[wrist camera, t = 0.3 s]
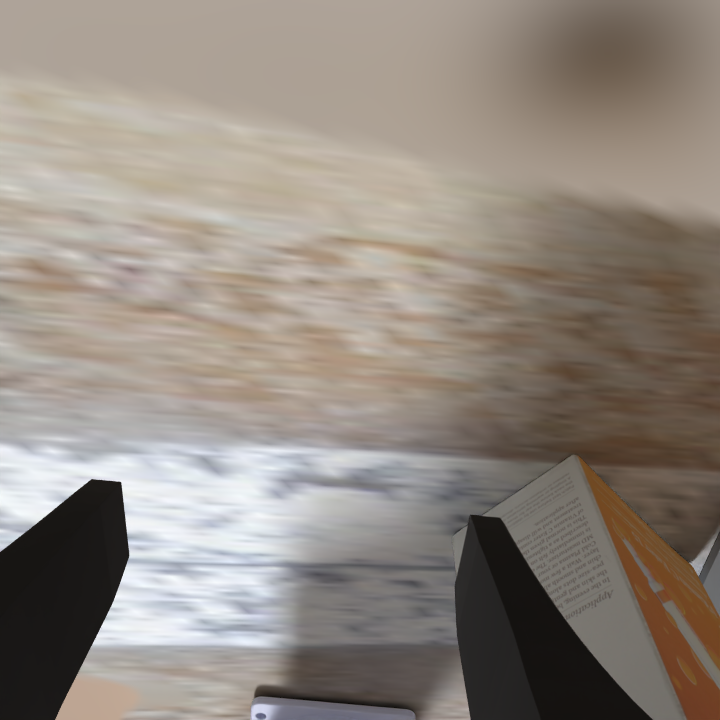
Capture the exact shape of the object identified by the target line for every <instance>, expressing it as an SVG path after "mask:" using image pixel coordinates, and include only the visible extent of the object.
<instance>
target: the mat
mask: <svg viewBox="0 0 720 720" xmlns="http://www.w3.org/2000/svg"><path fill="white" fill-rule="evenodd" d="M699 579H700V581H701V583H702V584H703V586H704V588H705V590H706V592H707V594H708V596H709V598H710V599H711V601H712V603H713V605H714V607H715V609H716V611H717V613H718V614H719V616H720V533H719V535H718V537H717V540H716V542H715V544H714V546H713V548H712V550H711V552H710V555H709V557H708V559H707V561H706V563H705V565H704V568H703V570H702V572H701V574H700V576H699Z"/></svg>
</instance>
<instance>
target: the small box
mask: <svg viewBox="0 0 720 720" xmlns="http://www.w3.org/2000/svg"><path fill="white" fill-rule="evenodd" d="M482 516H489V517H500V518H501V520H502V521H503V522H504V524H505V525H506V527H507V529H508V531H509V533H510V534H511V536H512V538H513V540H514V541H515V543H516V545H517V546H518V548H519V550H520V551H521V553H522V555H523V556H524V558H525V560H526V561H527V563H528V565H529V566H530V568H531V569H532V571H533V573H534V574H535V576H536V577H537V579H538V580H539V582H540V583H541V585H542V586H543V588H544V589H545V591H546V592H547V594H548V595H549V597H550V598H551V600H552V601H553V603H554V604H555V605H556V607H557V608H558V610H559V611H560V612H561V614H562V615H563V617H564V618H565V619H566V621H567V622H568V623H569V625H570V626H571V627H572V629H573V630H574V631H575V633H576V634H577V635H578V637H579V638H580V639H581V641H582V642H583V643H584V644H585V646H586V647H587V648H588V649H589V651H590V652H591V653H592V654H593V656H594V657H595V658H596V659H597V660H598V662H599V663H600V664H601V665H602V666H603V667H604V669H605V670H606V671H607V672H608V673H609V674H610V675H611V677H612V678H613V679H614V680H615V681H616V682H617V683H618V684H619V686H620V687H621V688H622V689H623V690H624V691H625V692H626V693H627V694H628V695H629V696H630V697H631V698H632V700H633V701H634V702H635V703H636V704H637V705H638V706H639V707H641V708H642V709H643V710H644V711H645V712H646V713H647V714H648V715H649V716H650V717H651V718H652V719H653V720H720V616H719V614H718V613H717V611H716V609H715V607H714V605H713V603H712V601H711V599H710V598H709V596H708V594H707V592H706V590H705V588H704V586H703V584H702V583H701V581H700V579H699V577H698V575H697V574H696V572H695V570H694V568H693V567H692V566H691V564H689V563H688V562H687V561H686V560H685V559H683V558H682V557H681V556H680V555H679V554H678V553H677V552H675V551H674V550H673V549H672V548H671V547H670V546H669V545H668V544H667V543H666V542H665V541H664V540H663V539H662V538H660V537H659V536H658V535H657V534H656V533H655V532H654V531H653V530H652V529H651V528H650V527H649V526H648V525H647V524H646V523H645V522H644V521H643V520H642V519H641V518H640V517H639V516H638V515H637V514H636V513H635V512H634V511H633V510H632V509H631V508H630V507H629V506H628V505H627V504H626V503H625V502H624V501H623V500H622V499H621V498H620V497H619V496H618V495H617V494H616V493H615V492H614V491H613V490H612V489H611V488H610V487H609V486H608V485H607V484H606V483H605V482H604V481H603V480H602V479H601V478H600V477H599V476H598V475H597V474H596V473H595V472H594V471H593V470H592V469H591V468H590V467H589V466H588V465H587V464H586V463H585V462H584V461H583V460H582V459H581V458H580V457H579V456H578V455H571V456H569V457H568V458H567V459H565V460H564V461H562V462H561V463H559V464H558V465H556V466H555V467H553V468H552V469H551V470H549V471H548V472H546V473H545V474H543V475H542V476H540V477H539V478H537V479H536V480H534V481H533V482H531V483H530V484H528V485H527V486H525V487H524V488H522V489H521V490H519V491H518V492H516V493H515V494H513V495H512V496H510V497H509V498H507V499H506V500H504V501H503V502H501V503H500V504H498V505H497V506H495V507H493V508H492V509H491V510H489V511H488V512H486V513H485V514H483V515H482ZM467 527H468V525H467V526H466V527H464V528H463V529H461V530H460V531H459V532H457V533H456V534H455V535H454V536H453V537H452V545H453V553H454V560H455V569H456V577H457V573H458V569H459V564H460V559H461V555H462V550H463V545H464V541H465V536H466V532H467Z"/></svg>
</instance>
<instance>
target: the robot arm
mask: <svg viewBox="0 0 720 720" xmlns="http://www.w3.org/2000/svg"><path fill="white" fill-rule="evenodd" d="M128 558H129V548H128V539H127V530H126V521H125V512H124V503H123V494H122V485H121V482H116V481H105V480H94V479H91V480H90V481H89V482H88V483H86V484H85V485H84V486H83V487H81V488H80V489H79V490H77V491H76V492H75V493H74V494H72V495H71V496H70V497H69V498H68V499H66V500H65V501H64V502H63V503H61V504H60V505H59V506H58V507H57V508H55V509H54V510H53V511H52V512H50V513H49V514H48V515H47V516H46V517H44V518H43V519H42V520H41V521H39V522H38V523H37V524H36V525H34V526H33V527H32V528H31V529H29V530H28V531H27V532H25V533H24V534H23V535H22V536H20V537H19V538H18V539H16V540H15V541H14V542H13V543H11V544H10V545H9V546H8V547H6V548H5V549H4V550H2V551H1V552H0V720H55V719H56V716H57V714H58V712H59V710H60V708H61V705H62V703H63V701H64V699H65V697H66V695H67V693H68V691H69V689H70V687H71V685H72V683H73V682H74V680H75V678H76V676H77V674H78V672H79V670H80V668H81V666H82V664H83V662H84V660H85V658H86V656H87V654H88V652H89V650H90V648H91V646H92V644H93V642H94V640H95V638H96V636H97V634H98V632H99V630H100V628H101V626H102V624H103V622H104V620H105V618H106V616H107V614H108V611H109V609H110V607H111V605H112V603H113V601H114V598H115V595H116V593H117V590H118V587H119V584H120V582H121V579H122V576H123V573H124V570H125V567H126V564H127V561H128ZM455 605H456V625H457V637H458V644H459V650H460V656H461V663H462V669H463V675H464V681H465V687H466V693H467V699H468V705H469V711H470V718H471V720H653V719H652V718H651V717H650V716H649V715H648V714H647V713H646V712H645V711H644V710H643V709H642V708H641V707H639V706H638V705H637V704H636V703H635V702H634V701H633V700H632V698H631V697H630V696H629V695H628V694H627V693H626V692H625V691H624V690H623V689H622V688H621V687H620V686H619V684H618V683H617V682H616V681H615V680H614V679H613V678H612V677H611V675H610V674H609V673H608V672H607V671H606V670H605V669H604V667H603V666H602V665H601V664H600V663H599V662H598V660H597V659H596V658H595V657H594V656H593V654H592V653H591V652H590V651H589V649H588V648H587V647H586V646H585V644H584V643H583V642H582V641H581V639H580V638H579V637H578V635H577V634H576V633H575V631H574V630H573V629H572V627H571V626H570V625H569V623H568V622H567V621H566V619H565V618H564V617H563V615H562V614H561V612H560V611H559V610H558V608H557V607H556V605H555V604H554V603H553V601H552V600H551V598H550V597H549V595H548V594H547V592H546V591H545V589H544V588H543V586H542V585H541V583H540V582H539V580H538V579H537V577H536V576H535V574H534V573H533V571H532V569H531V568H530V566H529V565H528V563H527V561H526V560H525V558H524V556H523V555H522V553H521V551H520V550H519V548H518V546H517V545H516V543H515V541H514V540H513V538H512V536H511V534H510V533H509V531H508V529H507V527H506V525H505V524H504V522H503V521H502V520H501V518H500V517H489V516H478V515H470V518H469V522H468V527H467V532H466V536H465V541H464V545H463V550H462V555H461V559H460V564H459V569H458V573H457V578H456V582H455ZM251 720H416V718H415V714H414V712H413V711H411V710H408V709H398V708H387V707H376V706H365V705H353V704H342V703H331V702H320V701H308V700H297V699H286V698H275V697H263V696H260V697H256V698H254V699H253V701H252V705H251Z"/></svg>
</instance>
